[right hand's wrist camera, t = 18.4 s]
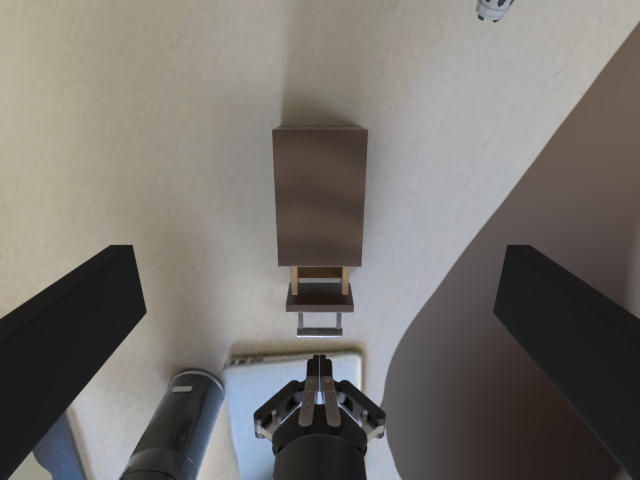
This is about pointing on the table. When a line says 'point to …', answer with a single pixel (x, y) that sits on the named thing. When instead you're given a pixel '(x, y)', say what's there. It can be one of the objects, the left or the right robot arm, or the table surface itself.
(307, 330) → the drawer
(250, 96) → the table surface
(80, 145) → the table surface
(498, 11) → the robot
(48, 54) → the table surface
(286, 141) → the cabinet
